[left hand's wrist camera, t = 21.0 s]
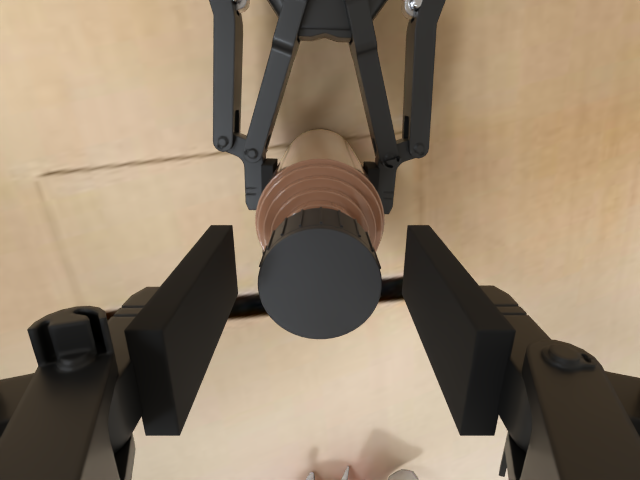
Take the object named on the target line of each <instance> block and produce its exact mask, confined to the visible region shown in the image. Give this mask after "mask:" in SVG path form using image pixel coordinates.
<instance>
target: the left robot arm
mask: <svg viewBox="0 0 640 480" xmlns="http://www.w3.org/2000/svg"><path fill="white" fill-rule="evenodd" d="M237 295H238V287H237V275H236V263H235V251H234V239H233V227H232V225H211V226H210V227H209V228H208V230H207V231H206V232H205V233H204V234H203V236H202V237H201V238H200V239H199V240H198V242H197V243H196V244H195V245H194V247H193V248H192V249H191V250H190V251H189V253H188V254H187V255H186V256H185V257H184V259H183V260H182V261H181V262H180V263H179V265H178V266H177V267H176V268H175V269H174V271H173V272H172V273H171V274H170V276H169V277H168V278H167V279H166V280H165V282H164V283H163V284H162V285H161V286H160V287H146V288H144V289H142V290H141V291H139V292H137V293H135V294H134V295H132V296H131V297H130V298H129V299H128V300H127V301H126V302H125V303H124V304H123V305H122V308H120V309H119V310H118V311H117V312H116V313H115V314H114V317H111V318H110V319H109V320H108V321H107V317H106V312H105V311H104V310H102V309H101V308H99V307H93V306H80V307H72V308H68V309H63V310H60V311H57V312H54V313H52V314H49V315H47V316H45V317H43V318H41V319H40V320H38V321H36V322H35V323H34V324H33V325H31V326H30V327H29V328H28V329H27V330H28V333H29V337H30V340H31V343H32V346H33V350H34V353H35V356H36V359H37V363H38V368H37V370H36V372H35V373H33V374H28V375H23V376H18V377H13V378H8V379H2V380H0V480H131V478H132V471H133V464H134V456H135V443H134V438H133V434H132V432H133V431H134V429H135V427H136V425H137V423H138V421H139V420H140V418H141V416H142V420H143V425H144V430H145V434H146V436H180V434H181V431H182V429H183V427H184V424H185V422H186V419H187V417H188V414H189V412H190V409H191V407H192V405H193V402H194V400H195V397H196V395H197V392H198V390H199V387H200V385H201V383H202V380H203V378H204V375H205V373H206V370H207V368H208V366H209V363H210V361H211V358H212V356H213V353H214V351H215V348H216V346H217V344H218V341H219V339H220V336H221V334H222V331H223V329H224V326H225V324H226V322H227V319H228V317H229V314H230V312H231V309H232V307H233V305H234V302H235V300H236V297H237ZM402 295H403V297H404V300H405V302H406V305H407V307H408V309H409V312H410V314H411V317H412V319H413V322H414V324H415V326H416V329H417V331H418V334H419V336H420V339H421V341H422V344H423V346H424V348H425V351H426V353H427V356H428V358H429V361H430V363H431V366H432V368H433V370H434V373H435V375H436V378H437V380H438V383H439V385H440V387H441V390H442V392H443V395H444V397H445V400H446V402H447V405H448V407H449V409H450V412H451V414H452V417H453V419H454V422H455V424H456V427H457V429H458V431H459V434H460V436H494V435H495V430H496V425H497V420H498V415H499V416H500V418H501V419H502V421H503V423H504V425H505V427H506V428H507V430H508V434H507V438H506V443H505V447H504V452H503V456H502V461H501V465H500V471H499V476H503V477H505V472H506V468H507V470H508V477H509V480H640V378H637V377H632V376H627V375H621V374H616V373H611V372H607V371H604V369H603V367H602V365H601V364H600V363H599V362H598V361H597V360H596V358H595V357H594V356H592V355H591V354H589V353H588V352H586V351H585V350H583V349H581V348H579V347H576V346H574V345H572V344H569V343H565V342H561V341H557V340H551V339H550V338H549V337H548V336H547V334H546V333H545V332H544V331H543V330H542V329H541V328H540V327H539V326H538V325H537V324H536V323H535V322H534V321H533V320H532V319H531V317H530V316H529V315H526V312H525V311H524V310H523V309H522V308H521V307H519V306H518V304H517V303H516V302H515V300H514V299H513V298H512V297H511V296H510V295H509V294H507V293H505V292H504V291H502V290H500V289H498V288H497V287H495V286H479V285H478V284H477V283H476V282H475V280H474V279H473V278H472V277H471V276H470V274H469V273H468V272H467V271H466V269H465V268H464V267H463V266H462V265H461V263H460V262H459V261H458V260H457V259H456V257H455V256H454V255H453V254H452V253H451V251H450V250H449V249H448V248H447V246H446V245H445V244H444V243H443V242H442V240H441V239H440V238H439V237H438V236H437V234H436V233H435V232H434V231H433V230H432V228H431V227H430V226H429V225H408V227H407V239H406V251H405V263H404V275H403V287H402Z"/></svg>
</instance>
